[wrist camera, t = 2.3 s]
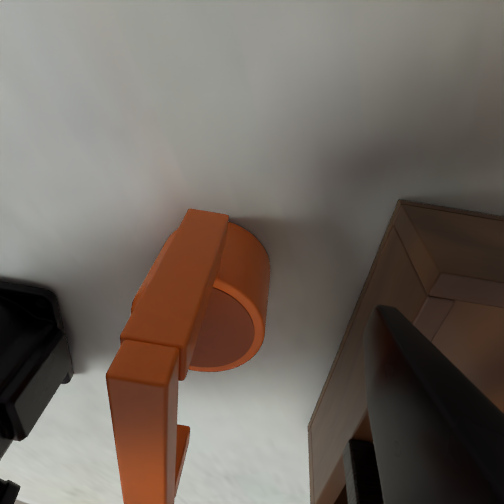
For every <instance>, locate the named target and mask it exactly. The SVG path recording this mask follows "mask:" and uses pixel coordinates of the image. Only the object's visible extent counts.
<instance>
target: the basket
mask: <svg viewBox="0 0 504 504" xmlns="http://www.w3.org/2000/svg"><path fill="white" fill-rule="evenodd" d="M378 304H381V305H387V306H393V307H395V308H397V309H398V310H399V311H400V312H401V313H402V314H403V315H404V316H405V317H406V318H407V319H408V320H409V321H410V322H411V323H412V324H413V325H414V326H415V327H416V328H417V329H418V330H419V331H420V332H421V333H422V334H423V335H424V336H425V337H426V338H427V339H428V340H429V341H430V342H431V343H432V344H433V345H435V346H436V347H437V348H438V349H439V350H440V351H441V352H442V353H443V354H444V355H445V356H446V357H447V358H448V359H449V360H450V361H451V362H452V363H453V364H454V365H455V366H456V367H457V368H458V369H459V370H460V371H461V372H462V373H463V374H464V375H465V376H466V377H467V378H468V379H469V380H470V381H471V382H472V383H473V384H474V385H475V386H476V387H477V388H478V389H479V390H480V391H481V392H482V393H483V394H484V395H485V396H486V397H487V398H489V399H490V400H491V401H492V402H493V403H494V404H495V405H496V406H497V407H498V408H499V409H500V410H501V411H502V412H503V413H504V217H501V216H495V215H490V214H484V213H478V212H472V211H466V210H460V209H454V208H448V207H442V206H436V205H430V204H424V203H418V202H412V201H406V200H398V202H397V205H396V207H395V210H394V212H393V215H392V217H391V220H390V222H389V225H388V227H387V230H386V232H385V235H384V237H383V240H382V242H381V245H380V247H379V250H378V252H377V255H376V257H375V260H374V262H373V265H372V267H371V270H370V272H369V275H368V277H367V280H366V282H365V285H364V287H363V290H362V292H361V295H360V297H359V300H358V302H357V305H356V307H355V310H354V312H353V315H352V317H351V320H350V322H349V325H348V327H347V330H346V332H345V335H344V337H343V340H342V342H341V345H340V347H339V350H338V352H337V355H336V357H335V360H334V362H333V365H332V367H331V370H330V372H329V375H328V377H327V380H326V382H325V385H324V387H323V390H322V392H321V395H320V397H319V400H318V402H317V405H316V407H315V410H314V412H313V415H312V417H311V420H310V422H309V425H308V447H309V477H310V504H348V498H347V489H346V480H345V471H344V462H343V453H342V452H343V450H344V448H345V446H346V444H347V442H348V440H349V439H355V440H360V441H366V442H372V443H374V442H373V437H372V431H371V425H370V419H369V413H368V406H367V399H366V384H365V365H364V346H363V334H364V330H365V327H366V325H367V323H368V320H369V318H370V316H371V313H372V311H373V309H374V307H375V306H376V305H378Z"/></svg>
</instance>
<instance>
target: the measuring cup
mask: <svg viewBox="0 0 504 504" xmlns="http://www.w3.org/2000/svg"><path fill="white" fill-rule="evenodd" d="M228 221H229V216H228V215H226V214H220V213H214V212H208V211H203V210H197V209H188V211H187V213H186V215H185V217H184V218H183V220H182V222H181V224H180V226H179V228H178V229H177V230H175V231H174V232H173V233H172V234H171V235H170V236H169V238H168V239H167V241H166V242H165V244H164V246H163V248H162V249H161V251H160V253H159V255H158V257H157V258H156V260H155V262H154V264H153V265H152V267H151V269H150V271H149V273H148V274H147V276H146V278H145V280H144V281H143V283H142V285H141V287H140V288H139V290H138V292H137V294H136V296H135V298H134V300H133V302H132V307H131V316H130V318H129V320H128V322H127V323H126V325H125V327H124V329H123V331H122V333H121V335H120V343H121V346H120V348H119V350H118V352H117V354H116V356H115V358H114V360H113V362H112V364H111V366H110V367H109V369H108V371H107V373H106V382H107V389H108V396H109V403H110V410H111V417H112V424H113V431H114V438H115V445H116V452H117V459H118V466H119V473H120V480H121V487H122V494H123V501H124V504H174V498H175V496H176V493H177V489H178V485H179V481H180V477H181V472H182V468H183V464H184V460H185V456H186V452H187V448H188V444H189V436H190V427H189V426H184V425H178V424H177V407H178V380H179V381H182V380H184V379H185V378H186V375H187V372H188V369H189V370H193V371H201V372H218V371H225V370H229V369H233V368H235V367H238V366H240V365H242V364H244V363H246V362H247V361H249V360H250V359H251V358H252V357H253V356H254V355H255V354H256V353H257V352H258V350H259V349H260V347H261V345H262V343H263V340H264V336H265V327H266V316H267V305H268V294H269V283H270V272H271V271H270V261H269V258H268V255H267V253H266V251H265V249H264V247H263V246H262V244H261V243H260V242H259V241H258V239H257V238H256V237H255V236H254V235H252V234H251V233H250V232H249V231H247V230H245V229H244V228H242V227H240V226H238V225H236V224H233V223H231V222H228Z"/></svg>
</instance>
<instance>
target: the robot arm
mask: <svg viewBox="0 0 504 504" xmlns="http://www.w3.org/2000/svg"><path fill="white" fill-rule="evenodd" d="M363 346H364V365H365V384H366V399H367V406H368V413H369V419H370V425H371V431H372V437H373V442H374V448H375V454H376V460H377V466H378V472H379V478H380V483H381V489H382V495H383V501H384V504H504V413H503V412H502V411H501V410H500V409H499V408H498V407H497V406H496V405H495V404H494V403H493V402H492V401H491V400H490V399H489V398H487V397H486V396H485V395H484V394H483V393H482V392H481V391H480V390H479V389H478V388H477V387H476V386H475V385H474V384H473V383H472V382H471V381H470V380H469V379H468V378H467V377H466V376H465V375H464V374H463V373H462V372H461V371H460V370H459V369H458V368H457V367H456V366H455V365H454V364H453V363H452V362H451V361H450V360H449V359H448V358H447V357H446V356H445V355H444V354H443V353H442V352H441V351H440V350H439V349H438V348H437V347H436V346H435V345H433V344H432V343H431V342H430V341H429V340H428V339H427V338H426V337H425V336H424V335H423V334H422V333H421V332H420V331H419V330H418V329H417V328H416V327H415V326H414V325H413V324H412V323H411V322H410V321H409V320H408V319H407V318H406V317H405V316H404V315H403V314H402V313H401V312H400V311H399V310H398V309H397V308H395V307H393V306H387V305H381V304H378V305H376V306H375V307H374V309H373V311H372V313H371V316H370V318H369V320H368V323H367V325H366V327H365V330H364V334H363ZM72 377H73V369H72V362H71V357H70V353H69V348H68V344H67V339H66V335H65V333H64V329H63V324H62V320H61V315H60V310H59V306H58V301H57V298H56V296H55V295H54V294H53V293H52V292H51V291H49V290H46V289H42V288H36V287H30V286H24V285H18V284H12V283H7V282H1V281H0V460H1V458H2V457H3V455H4V454H5V452H6V451H7V449H8V448H9V446H10V444H11V443H12V441H13V440H15V441H21V440H23V439H24V438H26V437H27V436H28V435H29V433H30V432H31V430H32V428H33V427H34V425H35V424H36V422H37V420H38V419H39V417H40V416H41V414H42V413H43V411H44V409H45V408H46V406H47V405H48V403H49V402H50V400H51V398H52V397H53V395H54V394H55V392H56V390H57V389H58V387H59V386H60V384H66V383H69V382H70V380H71V378H72ZM19 490H20V486H19V485H17V484H15V483H14V482H12V481H10V480H7V481H4V480H2V479H0V504H14V502H15V500H16V497H17V495H18V492H19Z"/></svg>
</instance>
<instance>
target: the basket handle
mask: <svg viewBox="0 0 504 504" xmlns="http://www.w3.org/2000/svg"><path fill="white" fill-rule="evenodd" d="M342 453H343V462H344V471H345V480H346V489H347V498H348V504H384V501H383V495H382V489H381V483H380V478H379V472H378V466H377V460H376V454H375V448H374V443H372V442H366V441H360V440H355V439H349V440H348V442H347V444H346V446H345V448H344V450H343V452H342Z"/></svg>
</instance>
